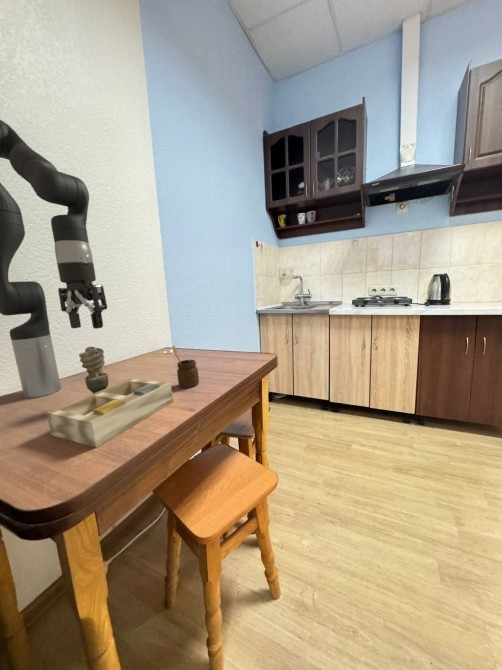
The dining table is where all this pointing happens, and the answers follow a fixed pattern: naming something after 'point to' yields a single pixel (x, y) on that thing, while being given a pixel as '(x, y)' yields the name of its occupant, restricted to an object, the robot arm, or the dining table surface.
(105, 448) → the dining table surface
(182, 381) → the utensil holder
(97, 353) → the light bulb
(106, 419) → the socket block
